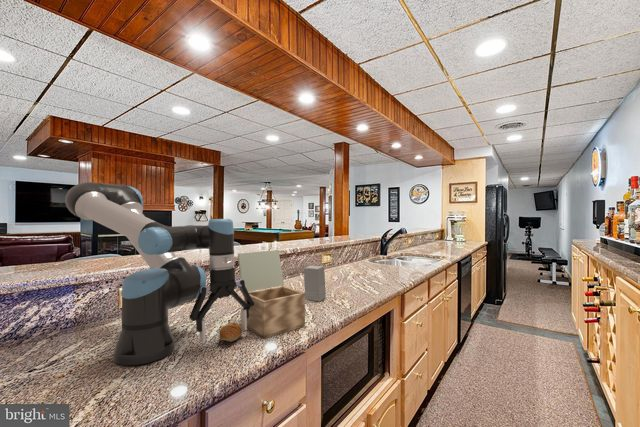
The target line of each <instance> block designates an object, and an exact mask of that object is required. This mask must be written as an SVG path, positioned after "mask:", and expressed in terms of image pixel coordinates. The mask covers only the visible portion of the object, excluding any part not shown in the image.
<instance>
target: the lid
mask: <svg viewBox="0 0 640 427" xmlns="http://www.w3.org/2000/svg"><path fill="white" fill-rule="evenodd" d="M237 259H238V267H239V269H238V270H239V276H240V279H242V280H244V281H245V287H246V289H247V291H248V293H249V292H254V291H260V290H265V289H270V288H276V287H281V286H285V282H284V276H283V269H282V264H281V256H280V250H279V249H277V250H266V251H265V250H264V251H263V250H262V251H254V252H253V251H252V252H241V253H240V252H239V253H237Z"/></svg>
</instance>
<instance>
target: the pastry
mask: <svg viewBox="0 0 640 427" xmlns="http://www.w3.org/2000/svg"><path fill="white" fill-rule="evenodd" d="M242 330H243V329H242V328H241V324H239V323H237V322H228V323H226V324H225V325H223V326H222V327H221V328H220V329H219V339H220V341H227V342H234V341H237V340H238V339H239V338H240V337H241V335H243V331H242Z"/></svg>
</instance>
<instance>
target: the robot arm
mask: <svg viewBox="0 0 640 427" xmlns="http://www.w3.org/2000/svg"><path fill="white" fill-rule="evenodd" d="M143 199H144V198H143V195H142V194H141V192H140V191H139V190H138V189H137V188H136V187H134V186H130V185H125V184H113V183H103V182H102V183H101V182H93V181H89V182H87V181H86V182H81V183H78V184H75V185H74V186H72V187H71V188H70V189H69V190H68V191H67V193H66V194H65V199H64V201H65V206H66V208H67V209H68V211H69V212H70V213H71V214H72V215H74V216H75V217H78V218H80V219H82V220H84V221H94V222H95V223H98V224H100V225H102V226H104V227H105V228H108V229H110V230H113V231H114V232H116V233H118V234H120V235H122V236H124V237H126V238H127V239H128V241H129V242H130V243H131V244H132V246H133V247H134V248H135V250H136V251H137V252H138V253H139V255H140V256H141V257H142V259H143V261H145V263H146V264H147V266H148V267H149V268H150V269H144V270H140V271H135V272H133V273H130V274H128V275H126V276H125V278H123V281H122V288H121V292H120V296H121V331H120V334H119V336H118V339H117V341H116V345H115V347H114V350H113V361H114V362H115V363H116V364H118V365H122V366H138V365H144V364H149V363H152V362H155V361H158V360H160V359H161V360H162V359H163V358H165V357H167V356H169V355H170V354H171V353H172V352H173V351H174V350H175V338H174V334H173V332H172V329H171V327H170V324H169V310H171V309H173V308H176V307H179V306H181V305H184V304H186V303H191V302H193V301H194V300H195V302H194V304H193V307H192V310H191V312H190V313H189V316H188V318H189V319H190V320H191V321H194V322H195V323H196V326H195V327H196V331H197V332H198V333H199V341H200V342H201V343H203V344H205V343H207V342H206V341H207V340H206V320H205V319H204V318H205V316H206V315H207V314H208V312H209V311H210V309H211V308H212V306H213V305H214V303H215V302H216V301H217V299H223V298H229V297H230V296H231V297H232V298H233V299H234V300H235V301H236V302H237V303H238V304H239V305H240V306H241V307H242V308H240V327H241V330H244V331H247V330H248V329H247V318H249V309H250V307H251V306H253V305H254V302H253V300H252V298H251V297H250V295H249V292H248V291H247V289H246V287H245V281H244V280H242V279H241V278H239V279H237V280H236V271H235V270H236V268H235V265H236V264H235V246H234V244H235V243H234V242H235V230H234V222H233V220H232V219H231V218H215V219H214V218H213V219H211V218H210V219H209V220H208V224H207V225H193V224H191V225H189V224H188V225H179V226H178V225H177V226H175V225H174V226H167V225H164V224H162V223H160V222H157V221H155V220H153V219H151V218H149V217H146V216H145V214H143V211H144V201H143ZM196 249H197V250H198V249H199V250H200V249H207V250H208V252H209V253H208V254H209V268H210V269H209V282H210V283H209V285H208V286H207V276H206V273H205V270H204V269H203V268H202V267H201V266H199V265H195V264H190V263H189V262H188V261H187V260H186V258H185V257H183V256H177V255H176V253H175V252H180V251H189V250H196ZM236 286H237V287H238V289H239V290H240V293H241V294H242V296H243V298H242V297H241V296H240V295H239V294H238V293H237V292H236V291H235V288H236ZM209 291H210V294H209ZM207 294H209V295H208V298H207V300H206V301H205V298H206V295H207ZM244 298H245V300H246V302H247V303H246V302H245V301H244ZM204 301H205V303H204ZM203 303H204V304H203Z"/></svg>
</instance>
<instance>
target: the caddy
mask: <svg viewBox="0 0 640 427" xmlns="http://www.w3.org/2000/svg"><path fill="white" fill-rule="evenodd" d="M248 293H249V295H250V297H251V298H252V300H253V302H254V305H253V306H251V307H250V309H249V318H247V330H249V331H251V333H252V332H253V334H255V335H257V336H259V337H260V338H262V339H263V340H264V339H267V338H272V337H274V336H277V335H281V334H285V333H287V332H290V331H294V330H297V329H300V328H304V327H306V299H305V292H302V291H300V290H296V289H293V288H291V287H288V286H285V285H283V286H277V287H272V288H266V289H261V290H255V291H250V292H248ZM243 300H244V301H245V302H246V300H245V298H244V297H243ZM246 303H247V302H246Z"/></svg>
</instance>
